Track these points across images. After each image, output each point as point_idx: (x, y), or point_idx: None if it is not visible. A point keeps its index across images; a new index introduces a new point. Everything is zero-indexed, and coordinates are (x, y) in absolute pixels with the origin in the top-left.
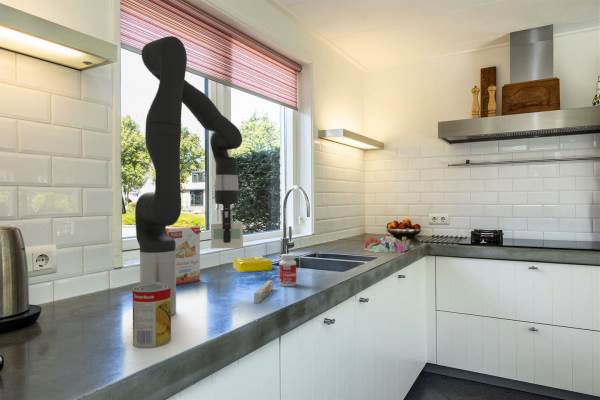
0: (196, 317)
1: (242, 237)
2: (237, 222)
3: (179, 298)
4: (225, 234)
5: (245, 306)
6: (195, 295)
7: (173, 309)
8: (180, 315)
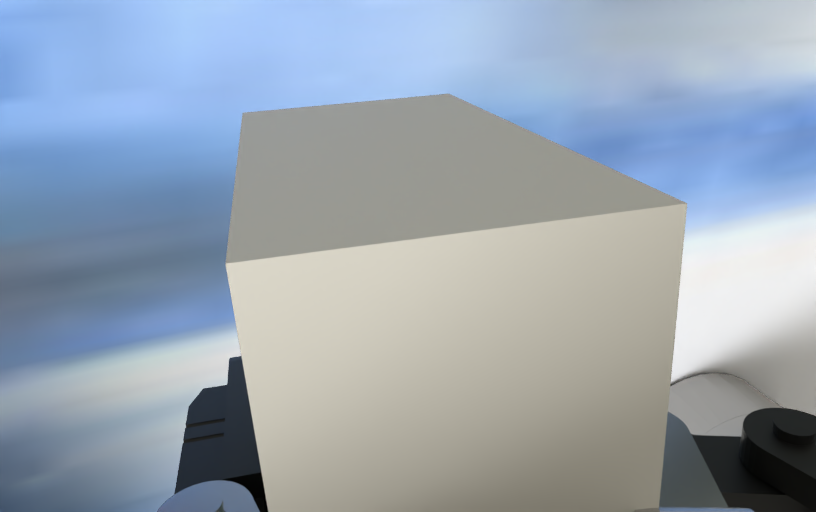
0: (795, 259)
1: (506, 126)
2: (315, 428)
3: None
4: None
5: (659, 13)
6: None
7: (747, 386)
8: (740, 341)
